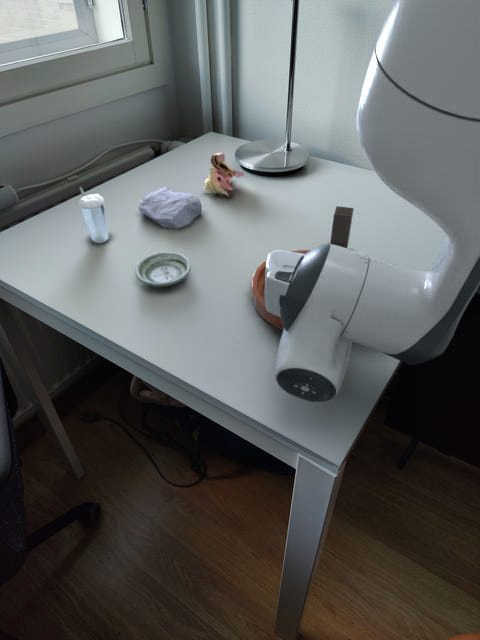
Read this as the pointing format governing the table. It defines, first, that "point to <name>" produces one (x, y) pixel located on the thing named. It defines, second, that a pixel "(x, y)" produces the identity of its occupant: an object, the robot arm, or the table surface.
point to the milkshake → (94, 216)
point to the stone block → (171, 208)
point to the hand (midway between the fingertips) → (338, 250)
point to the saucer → (163, 269)
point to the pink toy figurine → (220, 175)
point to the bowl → (259, 294)
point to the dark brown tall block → (341, 226)
